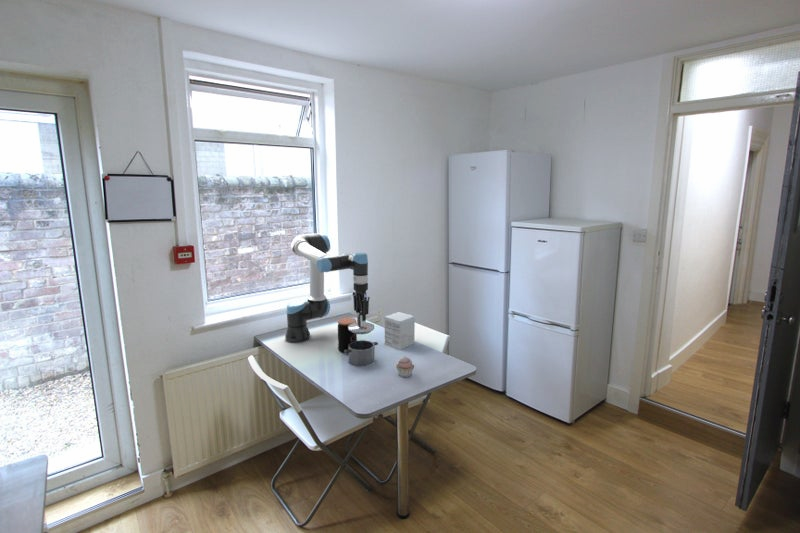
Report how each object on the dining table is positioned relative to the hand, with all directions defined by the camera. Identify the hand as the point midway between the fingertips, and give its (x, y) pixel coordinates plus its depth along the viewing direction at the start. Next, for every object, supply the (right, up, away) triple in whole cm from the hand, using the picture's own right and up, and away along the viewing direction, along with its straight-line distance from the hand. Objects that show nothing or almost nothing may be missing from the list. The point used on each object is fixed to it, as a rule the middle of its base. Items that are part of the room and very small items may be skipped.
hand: (361, 325), depth 214 cm
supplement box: (+20, -16, +28) cm, 38 cm away
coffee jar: (-10, -17, +18) cm, 27 cm away
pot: (0, -20, +4) cm, 20 cm away
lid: (0, -3, +1) cm, 3 cm away
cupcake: (+23, -24, -12) cm, 35 cm away
